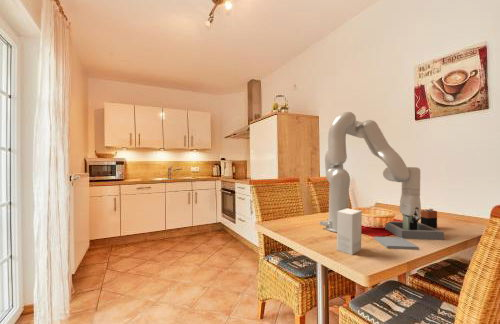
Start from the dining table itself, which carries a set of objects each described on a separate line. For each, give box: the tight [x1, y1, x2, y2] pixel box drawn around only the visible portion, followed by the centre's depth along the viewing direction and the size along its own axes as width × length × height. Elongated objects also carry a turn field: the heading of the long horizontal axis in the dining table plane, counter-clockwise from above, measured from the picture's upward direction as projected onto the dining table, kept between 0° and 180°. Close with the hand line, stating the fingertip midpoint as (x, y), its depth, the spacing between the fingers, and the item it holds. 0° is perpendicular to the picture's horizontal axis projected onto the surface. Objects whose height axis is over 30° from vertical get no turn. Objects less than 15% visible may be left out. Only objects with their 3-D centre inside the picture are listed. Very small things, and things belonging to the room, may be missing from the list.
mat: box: [373, 236, 420, 250], centre depth 100 cm, size 12×12×1 cm
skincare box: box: [336, 208, 363, 256], centre depth 92 cm, size 8×7×16 cm
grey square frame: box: [384, 220, 445, 241], centre depth 115 cm, size 18×18×4 cm
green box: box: [402, 215, 418, 230], centre depth 115 cm, size 4×4×8 cm
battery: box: [420, 208, 438, 229], centre depth 126 cm, size 4×7×10 cm, turn 108°
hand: (410, 228), depth 115 cm, fingers closed on green box, 4 cm apart
